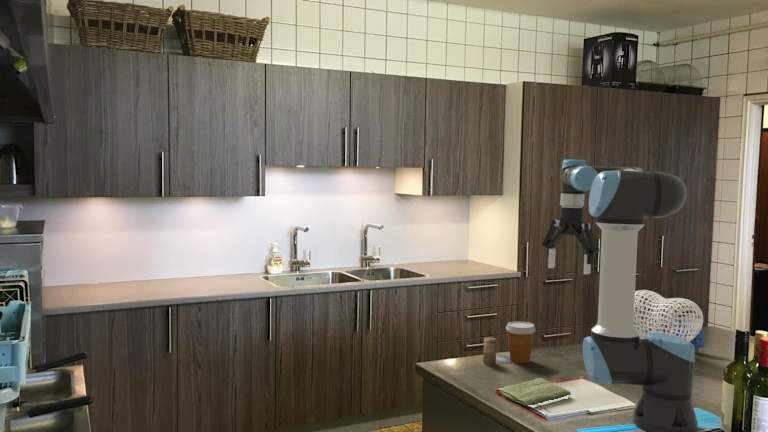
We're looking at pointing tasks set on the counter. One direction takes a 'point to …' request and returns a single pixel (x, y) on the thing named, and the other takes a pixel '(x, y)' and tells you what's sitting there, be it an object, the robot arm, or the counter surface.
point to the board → (503, 359)
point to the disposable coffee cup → (520, 341)
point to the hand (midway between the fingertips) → (568, 270)
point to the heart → (662, 302)
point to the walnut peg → (489, 351)
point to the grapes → (697, 340)
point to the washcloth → (533, 392)
